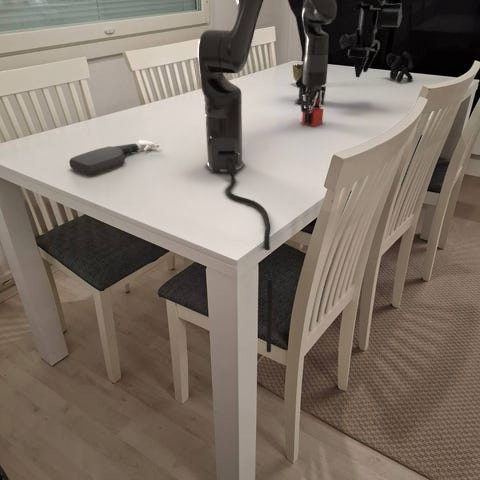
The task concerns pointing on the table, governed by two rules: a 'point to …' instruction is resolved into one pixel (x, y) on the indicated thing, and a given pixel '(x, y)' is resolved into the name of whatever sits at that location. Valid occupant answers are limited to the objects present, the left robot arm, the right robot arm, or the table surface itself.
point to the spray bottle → (106, 157)
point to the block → (314, 116)
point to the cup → (297, 71)
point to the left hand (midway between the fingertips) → (311, 121)
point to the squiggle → (399, 66)
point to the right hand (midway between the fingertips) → (361, 74)
